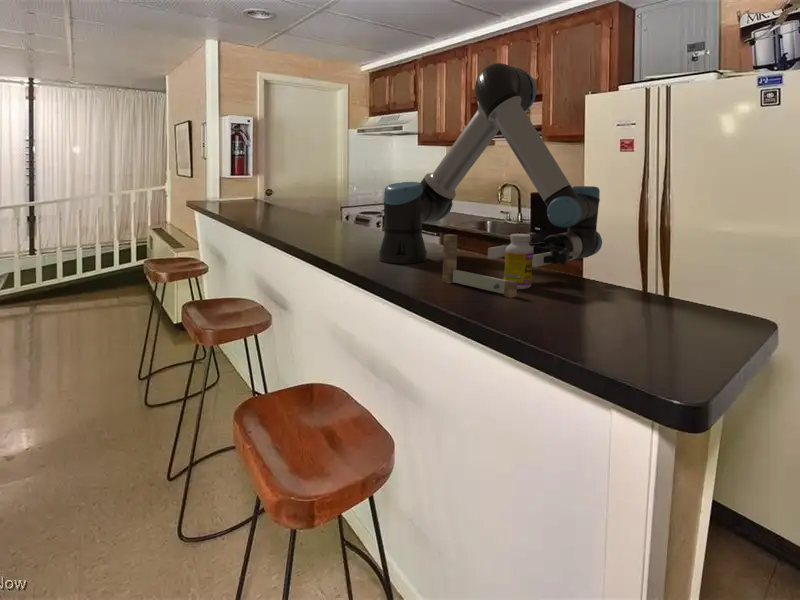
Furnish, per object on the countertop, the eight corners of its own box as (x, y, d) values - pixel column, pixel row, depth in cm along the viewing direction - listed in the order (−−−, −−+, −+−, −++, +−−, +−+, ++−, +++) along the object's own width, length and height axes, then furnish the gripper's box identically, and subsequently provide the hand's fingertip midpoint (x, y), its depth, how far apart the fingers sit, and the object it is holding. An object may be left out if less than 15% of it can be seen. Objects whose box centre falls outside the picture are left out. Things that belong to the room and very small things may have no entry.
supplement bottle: (525, 291, 127) (529, 237, 124) (499, 287, 130) (502, 235, 127) (534, 285, 133) (538, 234, 129) (509, 282, 136) (512, 232, 133)
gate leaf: (450, 282, 134) (450, 270, 133) (456, 281, 135) (456, 269, 135) (501, 294, 122) (502, 281, 121) (507, 293, 124) (508, 280, 123)
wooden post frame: (442, 281, 136) (443, 235, 133) (449, 280, 138) (450, 234, 135) (510, 297, 121) (513, 245, 118) (516, 296, 122) (520, 244, 119)
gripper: (603, 268, 133) (554, 281, 119) (521, 255, 151) (470, 265, 137) (606, 238, 131) (556, 247, 117) (523, 229, 149) (472, 235, 135)
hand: (510, 257), depth 127 cm, fingers open, 12 cm apart
